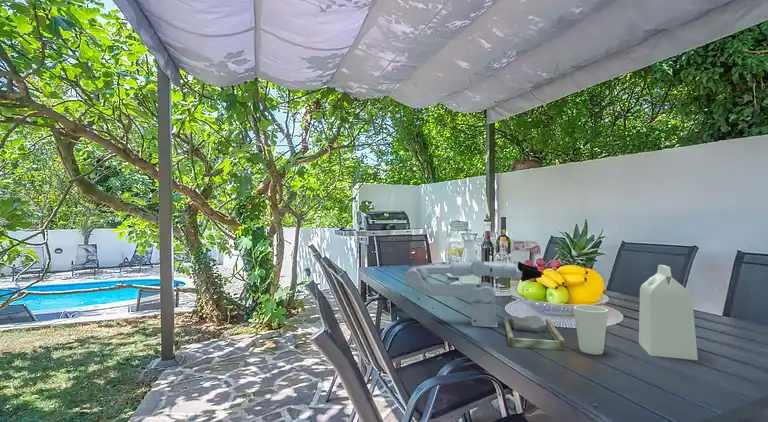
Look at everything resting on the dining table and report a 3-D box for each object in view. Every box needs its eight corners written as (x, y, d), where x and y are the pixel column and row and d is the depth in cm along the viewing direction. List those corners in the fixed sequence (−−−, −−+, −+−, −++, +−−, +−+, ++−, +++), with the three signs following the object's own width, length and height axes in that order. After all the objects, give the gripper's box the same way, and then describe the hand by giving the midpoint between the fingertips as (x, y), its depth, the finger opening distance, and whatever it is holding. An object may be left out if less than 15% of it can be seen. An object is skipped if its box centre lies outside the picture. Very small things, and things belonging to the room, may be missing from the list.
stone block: (548, 337, 137) (540, 324, 146) (548, 325, 136) (540, 312, 146) (514, 338, 138) (508, 325, 148) (514, 325, 137) (508, 313, 147)
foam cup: (605, 347, 120) (604, 306, 120) (612, 357, 111) (611, 313, 111) (572, 344, 123) (571, 304, 123) (576, 354, 114) (575, 310, 114)
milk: (697, 360, 109) (695, 269, 109) (650, 355, 112) (648, 267, 113) (681, 346, 120) (679, 264, 120) (638, 343, 124) (636, 263, 124)
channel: (508, 346, 122) (508, 337, 122) (504, 322, 149) (503, 315, 149) (565, 350, 117) (565, 341, 117) (549, 325, 145) (549, 318, 145)
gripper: (504, 262, 139) (544, 265, 136) (500, 256, 153) (536, 258, 150) (503, 281, 139) (543, 284, 136) (499, 274, 153) (535, 276, 151)
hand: (539, 272), depth 143 cm, fingers open, 7 cm apart
